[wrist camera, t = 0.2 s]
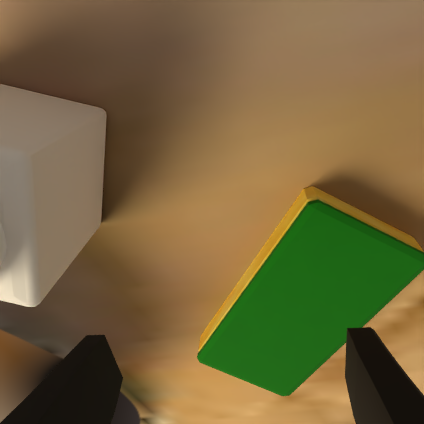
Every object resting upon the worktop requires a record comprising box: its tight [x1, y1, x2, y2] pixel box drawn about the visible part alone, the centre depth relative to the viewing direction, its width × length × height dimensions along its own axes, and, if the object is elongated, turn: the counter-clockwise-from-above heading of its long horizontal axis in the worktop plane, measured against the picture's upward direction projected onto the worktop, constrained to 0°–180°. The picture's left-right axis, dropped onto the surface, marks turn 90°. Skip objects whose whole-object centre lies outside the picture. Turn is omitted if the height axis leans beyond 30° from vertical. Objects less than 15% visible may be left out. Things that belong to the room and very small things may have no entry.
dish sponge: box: [197, 186, 424, 396], centre depth 21 cm, size 7×14×2 cm, turn 154°
